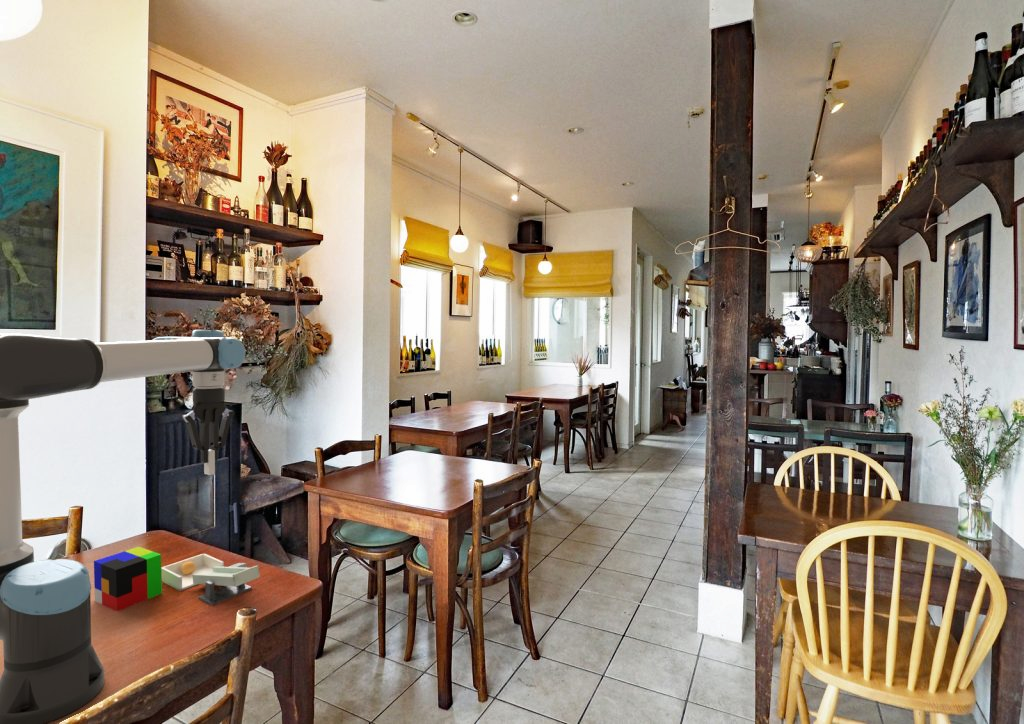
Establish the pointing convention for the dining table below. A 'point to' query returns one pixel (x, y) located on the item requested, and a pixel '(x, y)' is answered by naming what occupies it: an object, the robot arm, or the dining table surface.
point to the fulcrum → (221, 592)
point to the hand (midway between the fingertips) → (209, 473)
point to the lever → (228, 575)
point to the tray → (183, 581)
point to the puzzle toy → (127, 578)
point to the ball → (188, 567)
